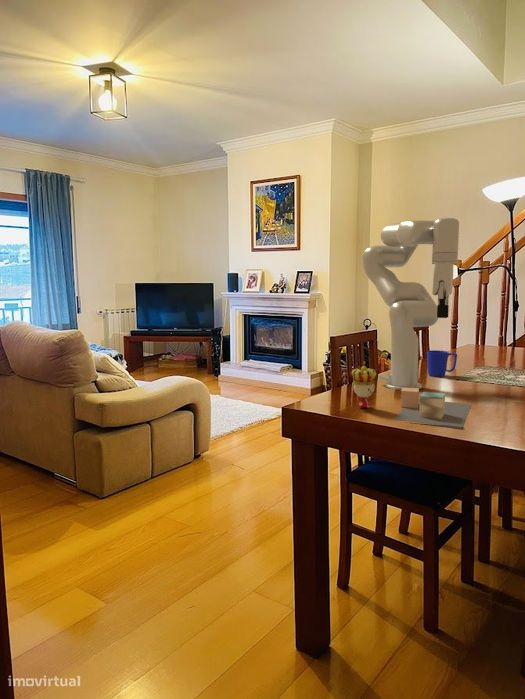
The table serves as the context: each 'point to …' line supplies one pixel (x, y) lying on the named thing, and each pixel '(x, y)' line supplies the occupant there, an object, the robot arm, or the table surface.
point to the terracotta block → (409, 397)
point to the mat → (451, 418)
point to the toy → (364, 384)
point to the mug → (438, 362)
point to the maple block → (432, 405)
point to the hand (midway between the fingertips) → (442, 317)
